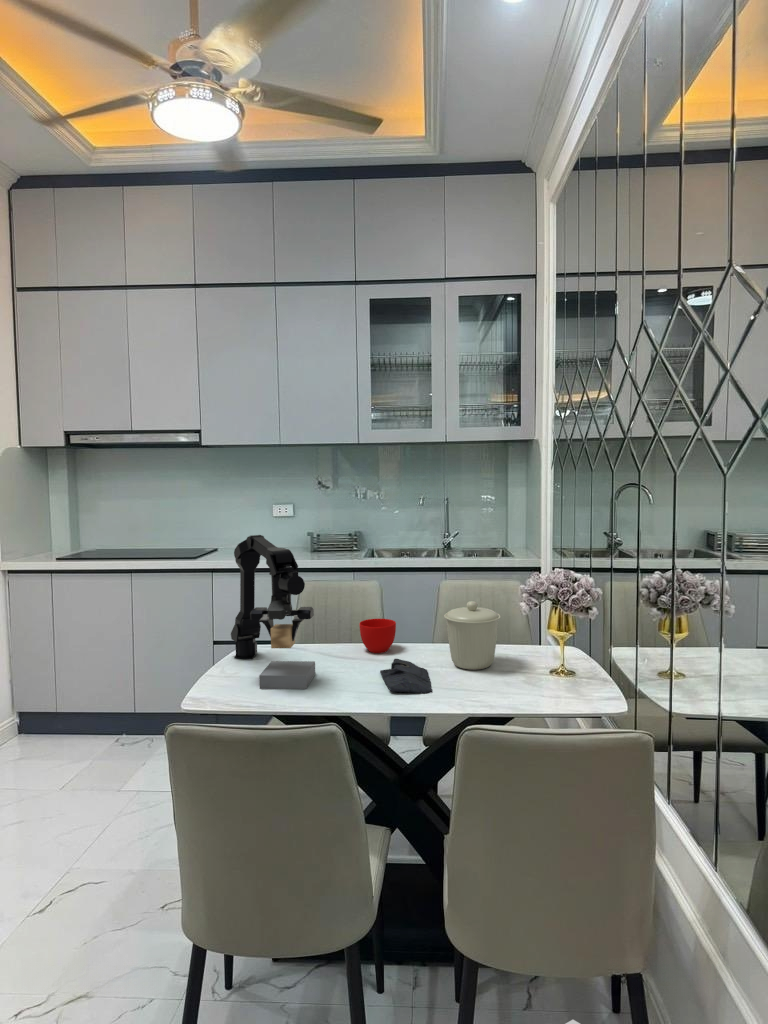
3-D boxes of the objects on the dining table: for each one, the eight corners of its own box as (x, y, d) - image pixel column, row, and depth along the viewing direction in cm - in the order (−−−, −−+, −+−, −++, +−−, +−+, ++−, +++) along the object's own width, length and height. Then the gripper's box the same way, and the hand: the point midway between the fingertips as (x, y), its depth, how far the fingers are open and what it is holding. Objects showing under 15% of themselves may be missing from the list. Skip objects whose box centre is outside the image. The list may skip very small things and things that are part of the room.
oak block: (271, 648, 190) (270, 628, 190) (276, 643, 196) (275, 624, 196) (290, 648, 190) (289, 628, 190) (295, 643, 196) (294, 624, 196)
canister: (486, 654, 215) (485, 594, 214) (510, 670, 198) (510, 604, 196) (436, 660, 210) (435, 598, 209) (457, 676, 193) (456, 609, 192)
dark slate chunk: (381, 697, 178) (381, 680, 178) (379, 672, 200) (379, 657, 200) (435, 695, 179) (435, 679, 178) (427, 671, 201) (427, 656, 200)
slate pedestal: (259, 688, 186) (259, 675, 185) (271, 673, 199) (271, 661, 199) (306, 689, 184) (305, 675, 184) (315, 673, 198) (314, 661, 198)
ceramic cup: (388, 641, 234) (388, 615, 234) (400, 654, 218) (400, 625, 217) (354, 644, 231) (354, 617, 231) (364, 657, 215) (363, 628, 214)
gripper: (243, 595, 185) (245, 648, 186) (305, 595, 183) (307, 647, 184) (254, 589, 196) (256, 638, 197) (313, 588, 195) (315, 638, 195)
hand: (283, 640), depth 193 cm, fingers closed on oak block, 6 cm apart
